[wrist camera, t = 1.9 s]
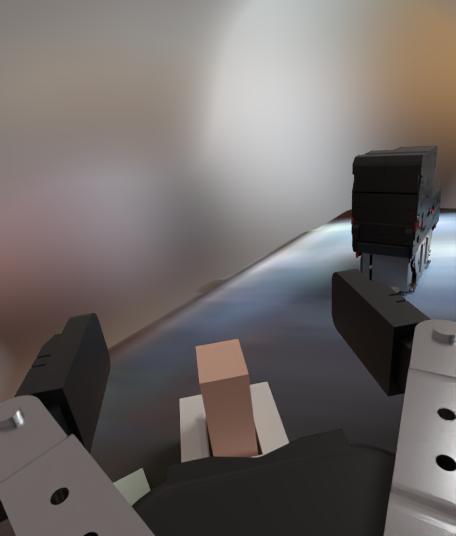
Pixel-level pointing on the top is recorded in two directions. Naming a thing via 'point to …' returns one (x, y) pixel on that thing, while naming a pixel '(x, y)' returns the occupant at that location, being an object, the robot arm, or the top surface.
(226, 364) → the tall brown pillar
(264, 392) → the white square socket block
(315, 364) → the top surface
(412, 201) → the bill acceptor
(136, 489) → the mat
